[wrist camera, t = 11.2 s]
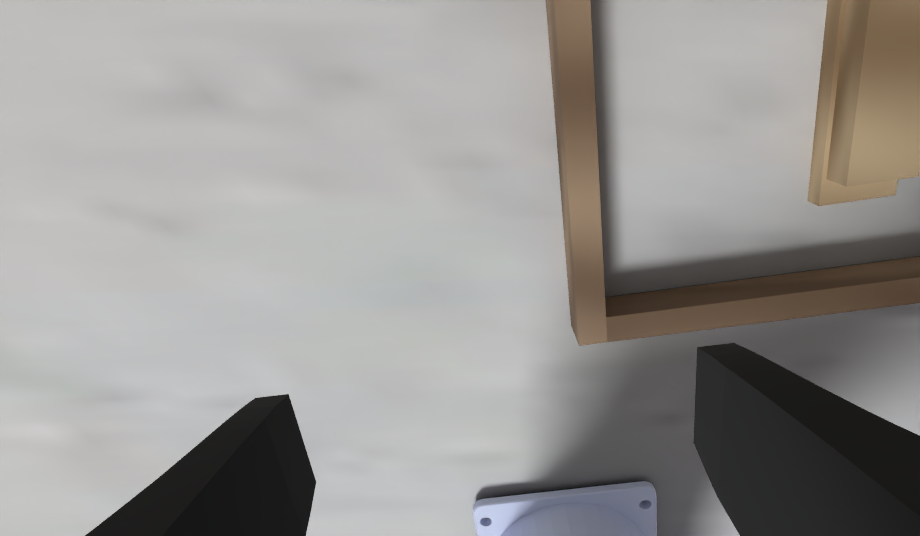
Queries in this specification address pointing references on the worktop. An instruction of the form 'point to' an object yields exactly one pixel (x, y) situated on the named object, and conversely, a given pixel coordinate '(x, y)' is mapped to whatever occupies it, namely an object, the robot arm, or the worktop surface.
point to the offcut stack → (867, 101)
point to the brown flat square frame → (682, 305)
